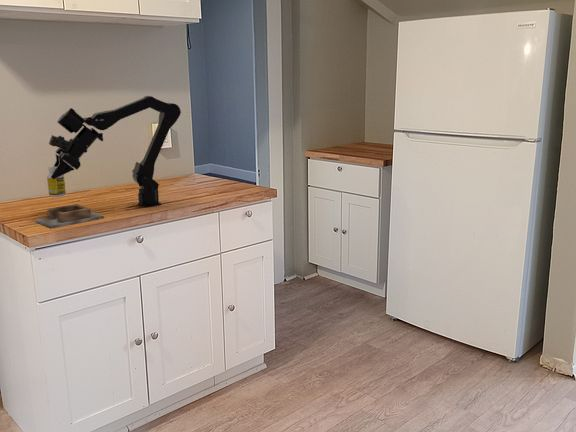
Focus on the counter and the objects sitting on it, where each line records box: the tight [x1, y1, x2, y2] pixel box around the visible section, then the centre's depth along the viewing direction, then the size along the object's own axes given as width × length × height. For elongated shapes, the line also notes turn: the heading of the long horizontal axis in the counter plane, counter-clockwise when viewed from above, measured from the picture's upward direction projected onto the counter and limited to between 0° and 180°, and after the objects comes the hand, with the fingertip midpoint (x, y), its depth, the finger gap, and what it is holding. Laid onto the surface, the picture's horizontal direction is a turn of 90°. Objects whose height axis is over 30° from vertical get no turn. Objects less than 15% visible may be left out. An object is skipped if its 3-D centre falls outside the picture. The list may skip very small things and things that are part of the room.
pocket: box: [34, 203, 105, 229], centre depth 186 cm, size 18×12×4 cm, turn 136°
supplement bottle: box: [46, 166, 67, 198], centre depth 191 cm, size 5×5×10 cm
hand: (51, 176), depth 190 cm, fingers closed on supplement bottle, 5 cm apart
